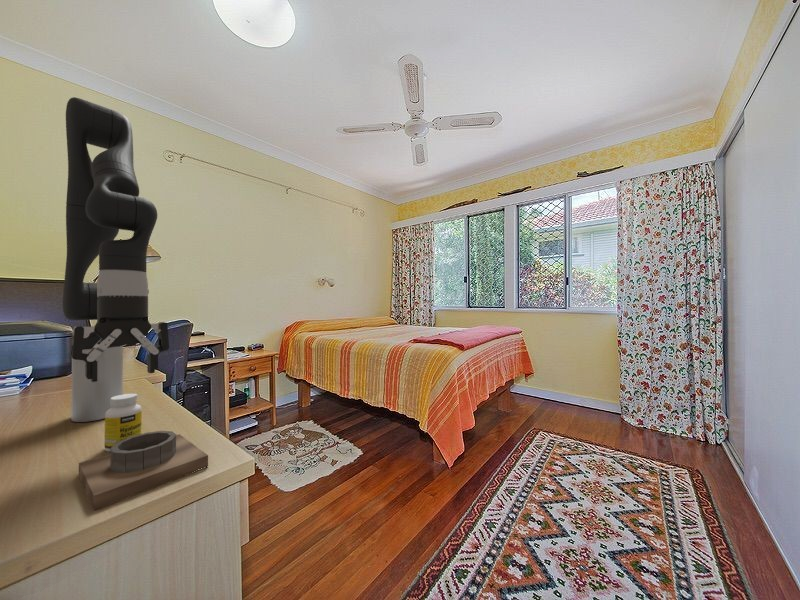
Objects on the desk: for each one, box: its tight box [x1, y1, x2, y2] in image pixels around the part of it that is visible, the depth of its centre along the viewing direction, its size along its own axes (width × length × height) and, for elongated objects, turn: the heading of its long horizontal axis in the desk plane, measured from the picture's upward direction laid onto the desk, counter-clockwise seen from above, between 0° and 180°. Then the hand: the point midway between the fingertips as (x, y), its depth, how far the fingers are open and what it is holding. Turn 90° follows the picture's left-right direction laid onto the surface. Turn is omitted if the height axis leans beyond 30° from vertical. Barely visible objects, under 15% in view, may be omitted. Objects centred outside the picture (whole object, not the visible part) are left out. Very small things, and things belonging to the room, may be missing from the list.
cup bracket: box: [78, 430, 209, 511], centre depth 52 cm, size 14×14×5 cm
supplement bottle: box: [104, 393, 143, 452], centre depth 61 cm, size 5×5×10 cm
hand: (123, 376), depth 61 cm, fingers open, 8 cm apart
